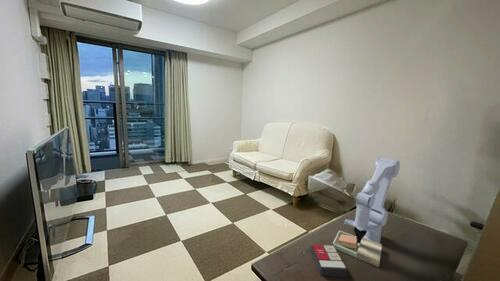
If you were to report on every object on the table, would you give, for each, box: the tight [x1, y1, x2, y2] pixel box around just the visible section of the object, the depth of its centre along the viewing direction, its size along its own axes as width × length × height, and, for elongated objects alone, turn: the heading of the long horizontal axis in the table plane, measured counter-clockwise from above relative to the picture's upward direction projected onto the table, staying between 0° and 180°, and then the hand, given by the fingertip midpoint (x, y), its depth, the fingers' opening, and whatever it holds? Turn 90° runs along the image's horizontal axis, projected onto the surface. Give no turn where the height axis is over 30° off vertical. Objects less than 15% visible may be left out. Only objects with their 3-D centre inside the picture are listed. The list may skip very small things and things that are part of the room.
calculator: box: [310, 244, 348, 278], centre depth 92 cm, size 11×4×15 cm
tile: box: [338, 234, 358, 248], centre depth 104 cm, size 6×8×2 cm
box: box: [331, 230, 359, 259], centre depth 104 cm, size 14×11×2 cm
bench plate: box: [356, 238, 383, 268], centre depth 98 cm, size 14×9×3 cm, turn 144°
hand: (358, 242), depth 101 cm, fingers closed
